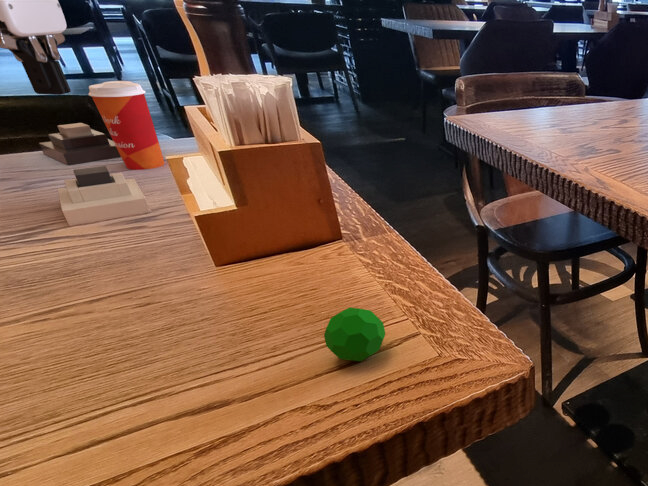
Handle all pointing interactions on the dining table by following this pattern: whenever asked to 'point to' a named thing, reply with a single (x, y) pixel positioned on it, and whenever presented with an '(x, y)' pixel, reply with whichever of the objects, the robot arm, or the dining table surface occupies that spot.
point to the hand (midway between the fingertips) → (53, 93)
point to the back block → (80, 148)
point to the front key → (92, 176)
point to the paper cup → (129, 123)
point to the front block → (101, 200)
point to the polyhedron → (354, 334)
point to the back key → (74, 130)
